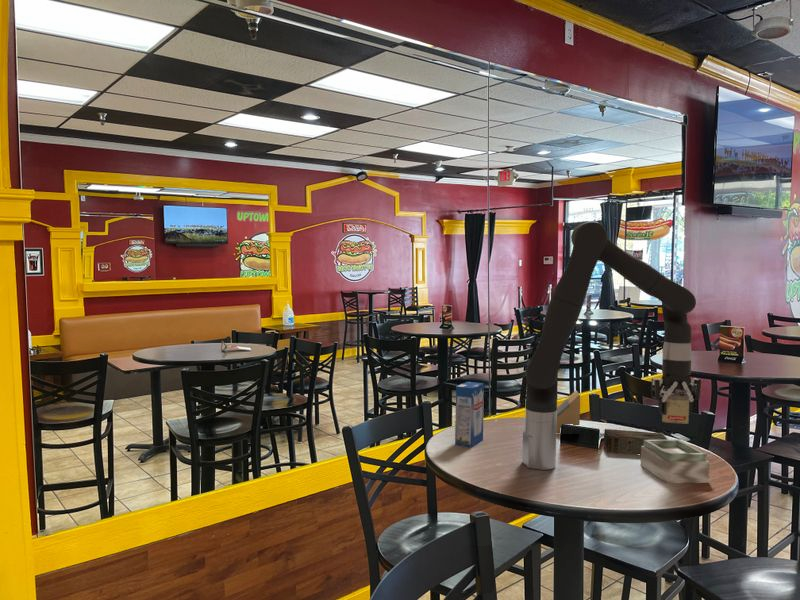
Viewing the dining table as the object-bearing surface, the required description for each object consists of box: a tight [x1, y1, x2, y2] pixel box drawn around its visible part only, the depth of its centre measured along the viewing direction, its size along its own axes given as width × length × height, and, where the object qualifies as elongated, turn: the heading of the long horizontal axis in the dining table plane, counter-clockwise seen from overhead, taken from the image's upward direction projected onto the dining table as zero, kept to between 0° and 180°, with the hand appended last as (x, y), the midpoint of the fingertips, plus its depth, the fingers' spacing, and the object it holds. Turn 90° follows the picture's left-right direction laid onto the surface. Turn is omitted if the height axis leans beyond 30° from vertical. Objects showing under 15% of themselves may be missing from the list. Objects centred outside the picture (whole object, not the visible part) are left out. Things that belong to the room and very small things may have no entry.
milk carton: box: [454, 381, 485, 448], centre depth 193 cm, size 10×6×20 cm, turn 150°
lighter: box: [661, 389, 690, 425], centre depth 163 cm, size 7×4×10 cm, turn 78°
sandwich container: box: [556, 389, 581, 433], centre depth 208 cm, size 9×15×15 cm, turn 82°
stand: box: [640, 438, 710, 484], centre depth 164 cm, size 12×15×8 cm
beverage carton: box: [603, 428, 669, 456], centre depth 185 cm, size 8×19×7 cm, turn 79°
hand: (675, 414), depth 163 cm, fingers closed on lighter, 7 cm apart
